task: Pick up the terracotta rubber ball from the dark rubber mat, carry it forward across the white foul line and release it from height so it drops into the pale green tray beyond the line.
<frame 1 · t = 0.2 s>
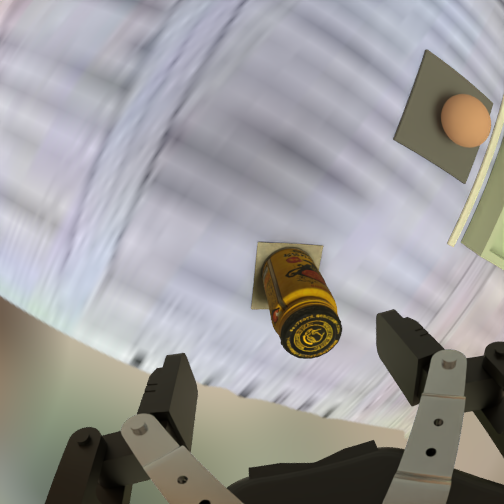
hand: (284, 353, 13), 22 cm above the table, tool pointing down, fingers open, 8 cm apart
ball: (450, 118, 30), resting on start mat
foul line: (484, 164, 32), on the table
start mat: (448, 118, 30), on the table
condiment: (285, 276, 37), on the table
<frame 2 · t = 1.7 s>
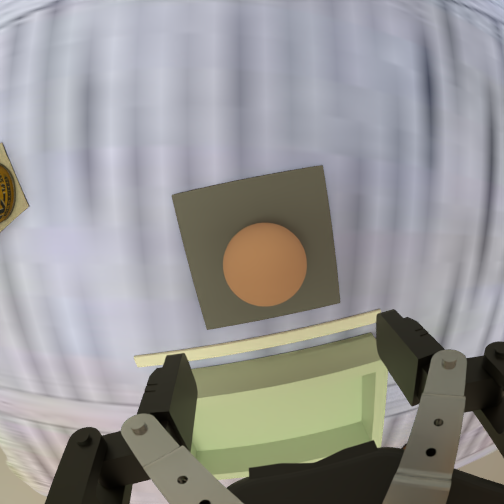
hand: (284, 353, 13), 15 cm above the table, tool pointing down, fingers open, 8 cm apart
ball: (261, 252, 26), resting on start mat
foul line: (256, 342, 29), on the table
tray: (271, 406, 31), on the table
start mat: (261, 251, 27), on the table
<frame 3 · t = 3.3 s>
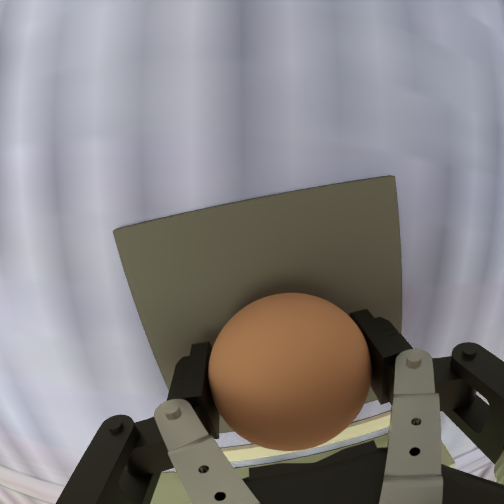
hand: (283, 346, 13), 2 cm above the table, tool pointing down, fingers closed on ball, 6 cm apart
ball: (280, 332, 14), resting on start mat, touching gripper
foul line: (266, 447, 17), on the table
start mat: (279, 328, 15), on the table
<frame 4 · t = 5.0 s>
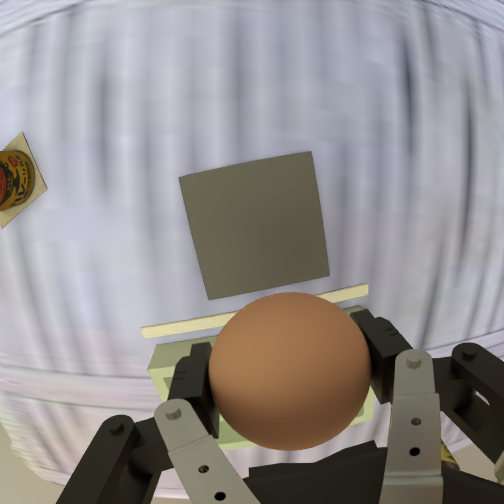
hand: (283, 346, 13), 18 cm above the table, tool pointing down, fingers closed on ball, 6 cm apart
ball: (280, 332, 14), point 17 cm above the table, touching gripper
foul line: (253, 313, 32), on the table
tray: (268, 377, 35), on the table
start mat: (257, 227, 30), on the table
condiment: (11, 181, 27), on the table
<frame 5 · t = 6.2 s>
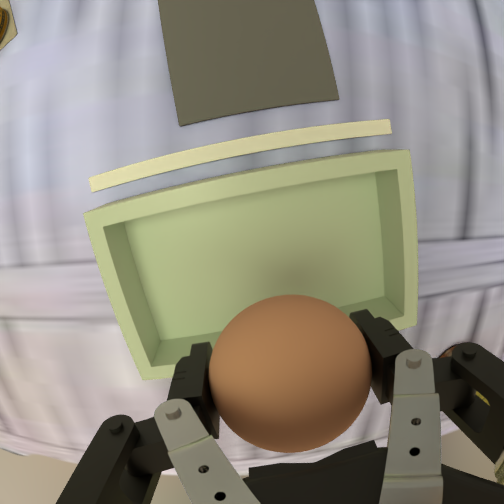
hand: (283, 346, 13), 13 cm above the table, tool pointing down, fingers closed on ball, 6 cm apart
ball: (280, 334, 14), point 12 cm above the table, touching gripper
foul line: (240, 147, 23), on the table
tray: (261, 256, 25), on the table
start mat: (245, 38, 20), on the table
when the fingers open (12 cm above the table, at t = 6.8 s): ball drops 10 cm, resting on tray.
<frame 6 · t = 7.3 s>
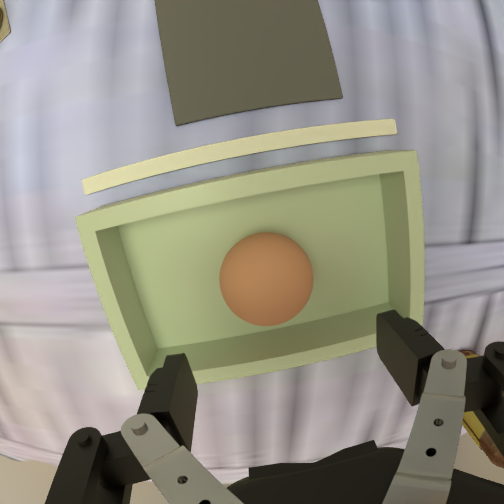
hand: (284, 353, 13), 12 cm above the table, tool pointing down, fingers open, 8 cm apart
ball: (262, 264, 24), point 1 cm above the table, touching tray
foul line: (239, 147, 22), on the table
sauce bottle: (453, 367, 29), on the table
tray: (261, 261, 24), on the table
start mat: (244, 34, 19), on the table
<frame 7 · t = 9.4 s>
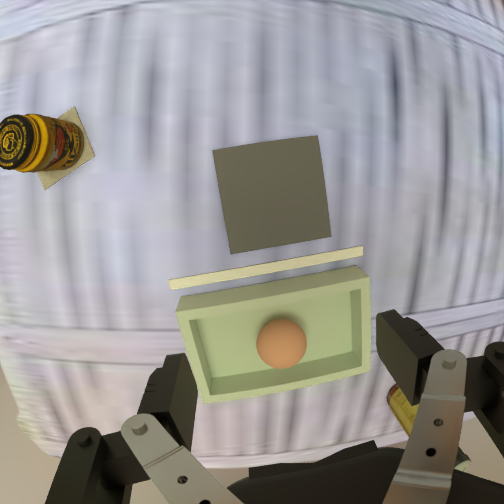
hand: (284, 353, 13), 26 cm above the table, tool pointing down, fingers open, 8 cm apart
ball: (278, 331, 40), point 1 cm above the table, touching tray
foul line: (267, 267, 39), on the table
sauce bottle: (401, 390, 46), on the table
tray: (277, 329, 41), on the table
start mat: (273, 193, 37), on the table
condiment: (59, 148, 33), on the table
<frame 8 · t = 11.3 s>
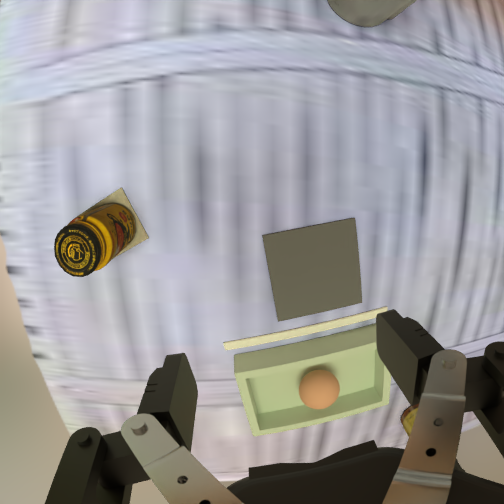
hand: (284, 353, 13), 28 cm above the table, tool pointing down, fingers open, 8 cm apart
ball: (315, 377, 46), point 1 cm above the table, touching tray
foul line: (308, 329, 44), on the table
sauce bottle: (412, 411, 52), on the table
tray: (314, 374, 47), on the table
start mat: (315, 270, 42), on the table
condiment: (110, 227, 39), on the table
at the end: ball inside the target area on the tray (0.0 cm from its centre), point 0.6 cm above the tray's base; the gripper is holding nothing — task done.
